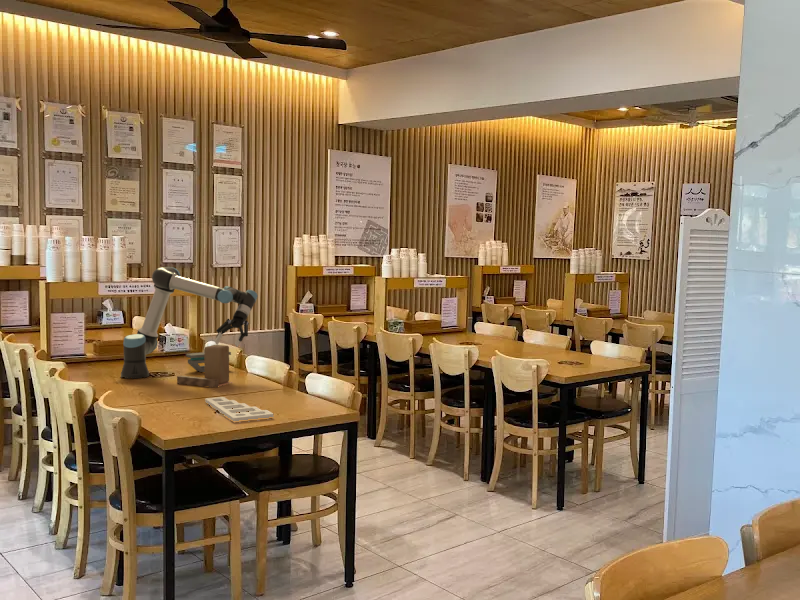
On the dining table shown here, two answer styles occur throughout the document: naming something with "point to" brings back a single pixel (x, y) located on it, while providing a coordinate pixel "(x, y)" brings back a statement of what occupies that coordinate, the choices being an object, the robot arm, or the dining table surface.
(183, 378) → the walnut straightedge
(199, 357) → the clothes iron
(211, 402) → the holder
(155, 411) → the dining table surface
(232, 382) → the terracotta end mark
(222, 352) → the wooden block
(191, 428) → the dining table surface
